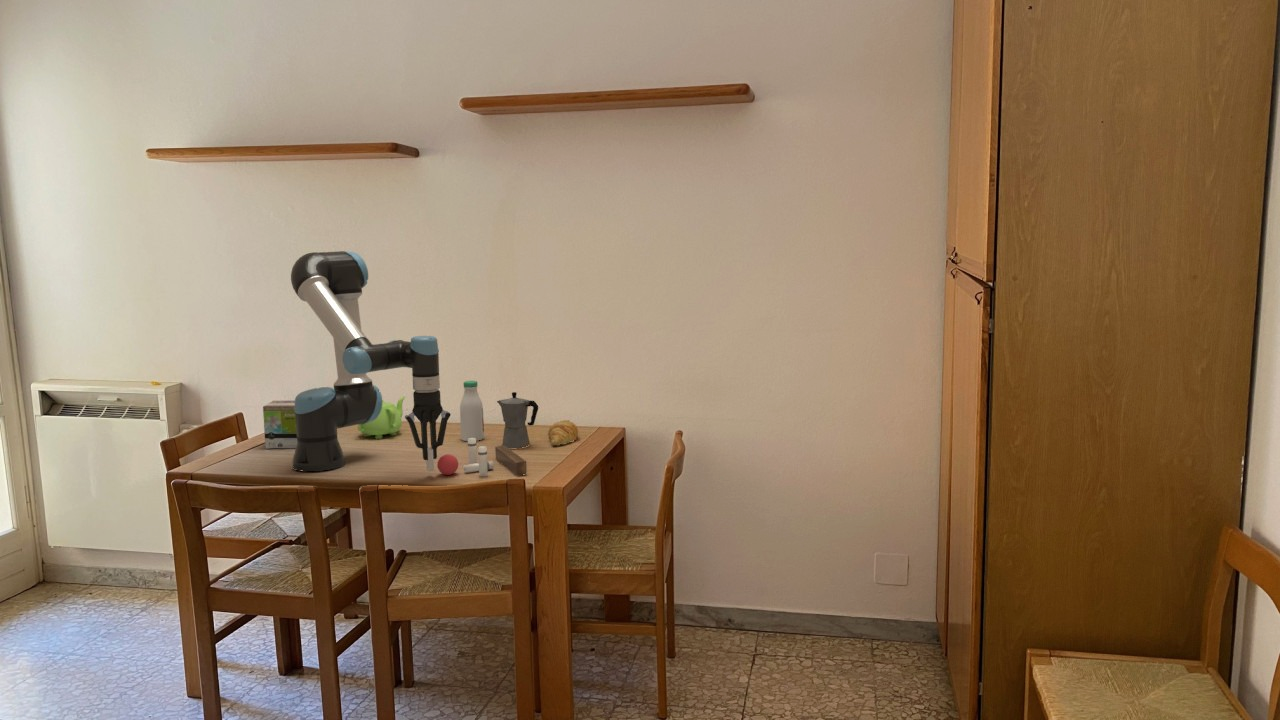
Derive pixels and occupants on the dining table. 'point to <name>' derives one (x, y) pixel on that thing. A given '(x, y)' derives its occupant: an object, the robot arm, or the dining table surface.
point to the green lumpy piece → (384, 421)
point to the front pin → (477, 467)
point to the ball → (447, 464)
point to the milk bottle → (471, 413)
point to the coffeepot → (516, 421)
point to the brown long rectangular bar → (511, 460)
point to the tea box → (280, 424)
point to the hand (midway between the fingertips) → (430, 470)
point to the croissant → (562, 432)
